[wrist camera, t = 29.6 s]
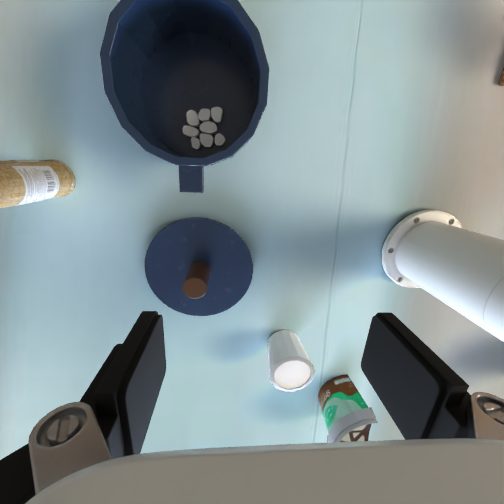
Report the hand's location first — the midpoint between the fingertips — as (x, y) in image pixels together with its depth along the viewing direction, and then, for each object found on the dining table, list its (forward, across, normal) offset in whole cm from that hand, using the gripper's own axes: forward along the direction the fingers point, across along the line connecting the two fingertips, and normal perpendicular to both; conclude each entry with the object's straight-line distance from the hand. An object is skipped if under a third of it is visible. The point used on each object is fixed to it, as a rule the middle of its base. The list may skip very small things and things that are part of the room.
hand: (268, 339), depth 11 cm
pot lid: (+26, +6, +8) cm, 28 cm away
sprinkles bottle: (+26, +24, -4) cm, 36 cm away
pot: (+26, +6, -14) cm, 30 cm away
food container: (+26, -18, +34) cm, 47 cm away
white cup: (+26, -8, +22) cm, 35 cm away
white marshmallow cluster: (+25, +6, -13) cm, 29 cm away
